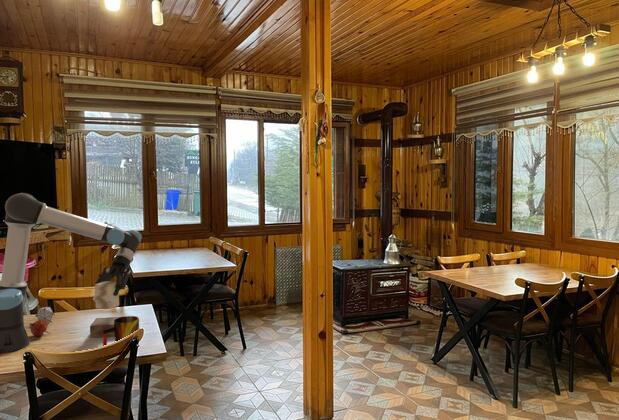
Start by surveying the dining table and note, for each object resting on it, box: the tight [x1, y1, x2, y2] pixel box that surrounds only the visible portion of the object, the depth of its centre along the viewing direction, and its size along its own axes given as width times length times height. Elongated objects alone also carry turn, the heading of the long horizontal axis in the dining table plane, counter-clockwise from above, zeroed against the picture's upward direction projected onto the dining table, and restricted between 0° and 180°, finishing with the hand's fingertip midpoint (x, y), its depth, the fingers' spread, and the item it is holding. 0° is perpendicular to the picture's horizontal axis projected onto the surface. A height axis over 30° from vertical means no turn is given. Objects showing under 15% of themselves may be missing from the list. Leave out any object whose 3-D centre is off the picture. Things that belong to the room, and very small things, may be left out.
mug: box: [102, 315, 140, 347], centre depth 191 cm, size 10×14×12 cm
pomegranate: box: [29, 319, 51, 338], centre depth 209 cm, size 7×7×10 cm
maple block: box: [94, 280, 120, 310], centre depth 211 cm, size 7×7×11 cm
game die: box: [34, 305, 55, 323], centre depth 228 cm, size 9×8×10 cm
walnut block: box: [89, 316, 125, 340], centre depth 211 cm, size 12×12×6 cm
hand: (102, 301), depth 207 cm, fingers closed on maple block, 7 cm apart
